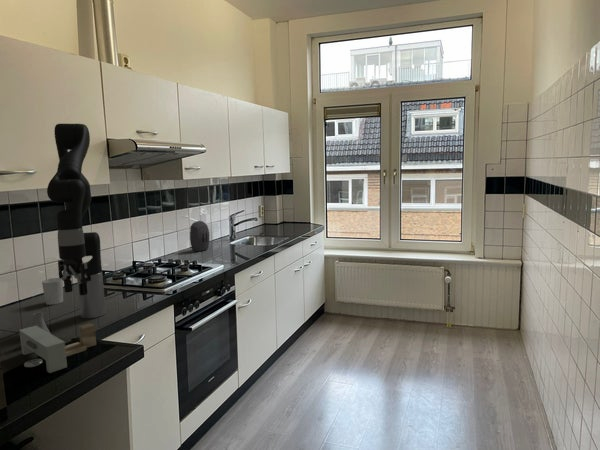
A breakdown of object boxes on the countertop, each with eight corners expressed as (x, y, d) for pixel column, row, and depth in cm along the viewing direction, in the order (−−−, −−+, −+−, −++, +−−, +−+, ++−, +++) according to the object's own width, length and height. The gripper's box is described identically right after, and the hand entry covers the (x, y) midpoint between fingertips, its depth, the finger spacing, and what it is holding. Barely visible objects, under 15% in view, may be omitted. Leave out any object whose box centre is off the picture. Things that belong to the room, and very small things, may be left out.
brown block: (51, 353, 149) (49, 333, 148) (90, 341, 158) (88, 321, 157) (59, 358, 145) (57, 337, 144) (98, 345, 154) (96, 325, 153)
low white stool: (19, 354, 149) (16, 330, 148) (38, 348, 153) (36, 325, 152) (46, 374, 135) (43, 348, 134) (67, 367, 139) (64, 341, 138)
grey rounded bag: (204, 248, 314) (202, 218, 311) (213, 249, 310) (212, 219, 307) (188, 252, 301) (186, 222, 298) (198, 253, 297) (196, 222, 294)
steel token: (21, 365, 142) (21, 362, 142) (39, 359, 146) (38, 357, 146) (27, 369, 139) (27, 367, 139) (45, 364, 143) (45, 361, 142)
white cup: (54, 306, 198) (51, 283, 196) (40, 304, 200) (37, 282, 199) (68, 300, 205) (66, 278, 203) (55, 299, 207) (52, 277, 206)
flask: (56, 336, 163) (53, 309, 162) (46, 345, 156) (43, 316, 155) (36, 337, 163) (32, 310, 162) (24, 346, 156) (21, 317, 154)
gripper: (95, 242, 145) (100, 293, 147) (70, 240, 153) (74, 288, 155) (72, 246, 139) (77, 298, 141) (47, 243, 147) (52, 293, 149)
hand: (76, 293), depth 148 cm, fingers open, 8 cm apart
